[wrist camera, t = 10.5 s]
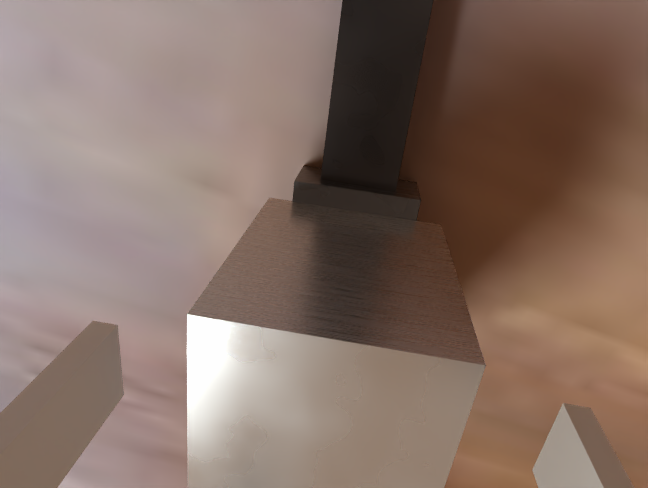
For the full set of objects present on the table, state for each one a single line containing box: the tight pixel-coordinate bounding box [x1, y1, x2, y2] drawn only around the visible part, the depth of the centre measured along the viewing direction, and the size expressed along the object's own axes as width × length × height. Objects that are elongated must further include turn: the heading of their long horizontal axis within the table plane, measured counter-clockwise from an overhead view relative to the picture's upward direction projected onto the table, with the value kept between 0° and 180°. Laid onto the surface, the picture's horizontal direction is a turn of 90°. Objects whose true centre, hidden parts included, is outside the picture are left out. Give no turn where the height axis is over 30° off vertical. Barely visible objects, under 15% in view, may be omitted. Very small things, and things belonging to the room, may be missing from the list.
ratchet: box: [293, 0, 433, 221], centre depth 18 cm, size 19×5×6 cm, turn 173°
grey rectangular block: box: [187, 198, 486, 488], centre depth 17 cm, size 7×7×9 cm
